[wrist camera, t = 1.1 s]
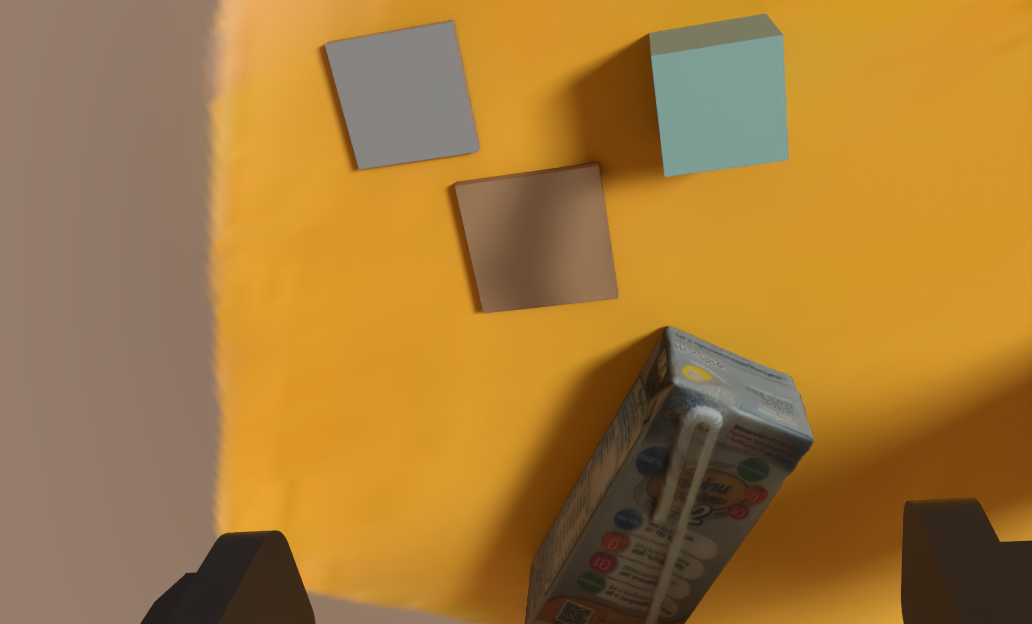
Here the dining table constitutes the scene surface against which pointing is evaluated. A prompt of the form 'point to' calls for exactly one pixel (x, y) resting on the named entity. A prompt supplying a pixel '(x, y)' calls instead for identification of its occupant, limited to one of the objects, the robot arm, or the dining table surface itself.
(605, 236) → the pad
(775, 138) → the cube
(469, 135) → the pad
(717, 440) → the beverage carton
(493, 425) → the dining table surface
